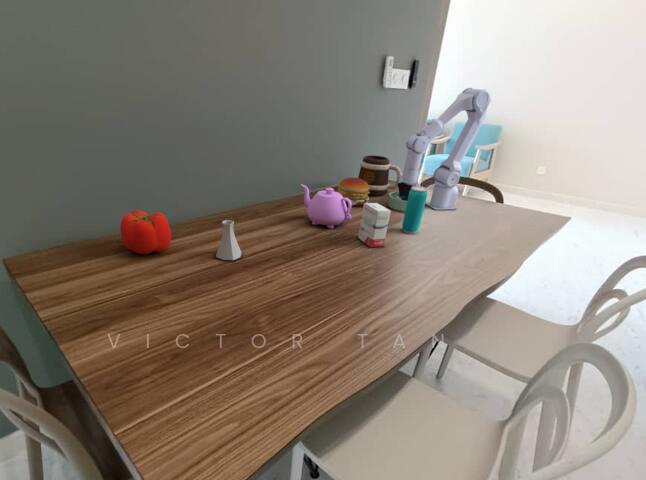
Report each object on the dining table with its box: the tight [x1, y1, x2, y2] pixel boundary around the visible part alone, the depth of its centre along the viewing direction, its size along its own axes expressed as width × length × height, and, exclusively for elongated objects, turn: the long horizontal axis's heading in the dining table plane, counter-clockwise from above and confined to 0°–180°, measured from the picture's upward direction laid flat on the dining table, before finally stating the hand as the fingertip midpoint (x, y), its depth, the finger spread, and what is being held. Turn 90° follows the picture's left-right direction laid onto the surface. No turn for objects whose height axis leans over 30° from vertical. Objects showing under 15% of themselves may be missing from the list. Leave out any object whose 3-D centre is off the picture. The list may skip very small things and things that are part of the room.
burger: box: [337, 177, 370, 206], centre depth 160 cm, size 13×14×10 cm
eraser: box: [396, 196, 405, 201], centre depth 160 cm, size 6×4×4 cm, turn 103°
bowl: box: [387, 191, 407, 213], centre depth 160 cm, size 14×14×4 cm
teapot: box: [300, 183, 353, 229], centre depth 137 cm, size 20×14×12 cm
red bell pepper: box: [119, 210, 172, 256], centre depth 109 cm, size 14×13×10 cm
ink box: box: [358, 202, 392, 248], centre depth 123 cm, size 8×5×12 cm, turn 20°
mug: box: [357, 155, 403, 197], centre depth 174 cm, size 20×15×15 cm
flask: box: [215, 219, 242, 261], centre depth 109 cm, size 7×7×10 cm
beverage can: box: [401, 186, 428, 235], centre depth 133 cm, size 6×6×15 cm
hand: (404, 202), depth 160 cm, fingers closed on eraser, 3 cm apart
